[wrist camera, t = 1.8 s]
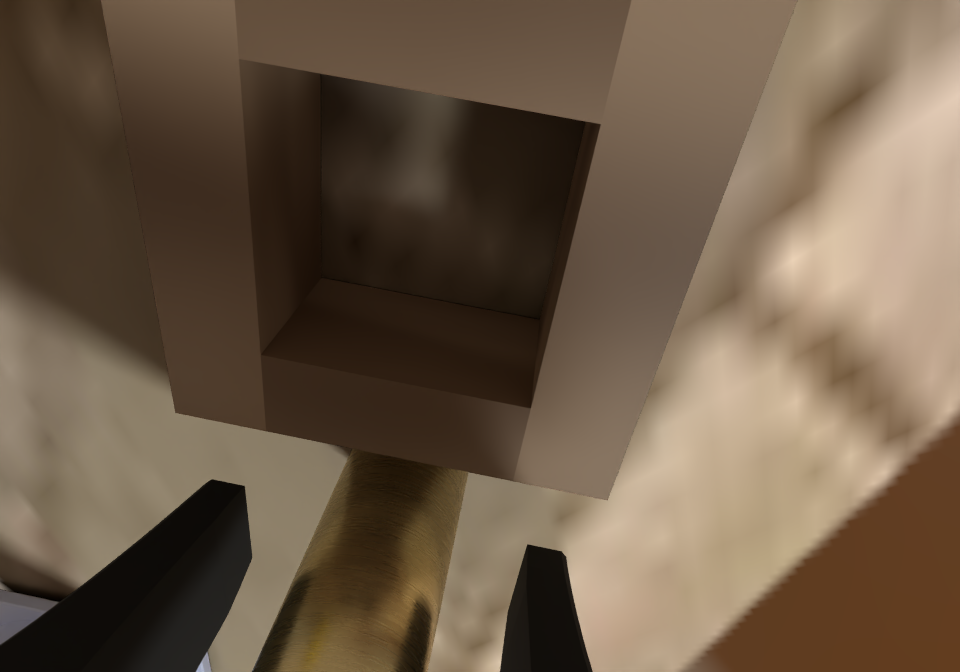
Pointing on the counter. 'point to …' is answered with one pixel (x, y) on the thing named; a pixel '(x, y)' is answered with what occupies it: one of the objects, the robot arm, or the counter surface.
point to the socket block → (412, 319)
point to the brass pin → (371, 572)
